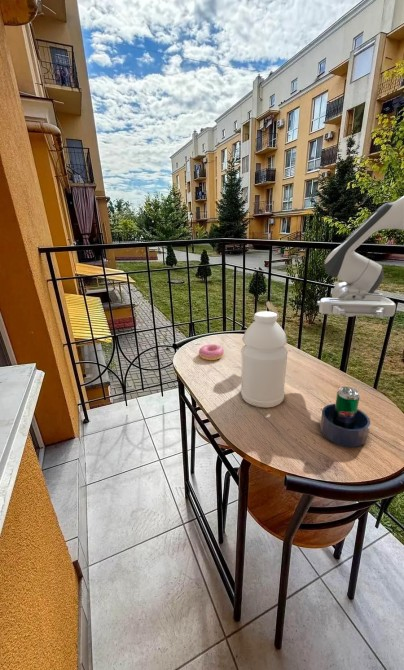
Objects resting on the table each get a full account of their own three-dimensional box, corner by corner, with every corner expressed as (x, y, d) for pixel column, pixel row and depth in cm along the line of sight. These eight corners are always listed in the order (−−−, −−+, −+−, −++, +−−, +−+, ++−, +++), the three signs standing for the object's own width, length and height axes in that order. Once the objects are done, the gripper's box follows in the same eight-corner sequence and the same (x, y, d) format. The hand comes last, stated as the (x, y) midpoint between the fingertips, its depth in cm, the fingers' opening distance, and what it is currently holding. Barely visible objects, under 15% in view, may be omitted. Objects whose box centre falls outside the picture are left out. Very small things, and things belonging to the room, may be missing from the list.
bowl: (355, 418, 79) (358, 403, 77) (375, 447, 69) (379, 431, 67) (314, 418, 80) (316, 403, 78) (328, 446, 70) (330, 430, 68)
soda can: (333, 435, 73) (339, 395, 68) (330, 422, 77) (335, 384, 73) (355, 437, 71) (362, 397, 67) (350, 425, 76) (357, 386, 72)
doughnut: (220, 362, 116) (220, 353, 114) (195, 360, 119) (195, 351, 118) (226, 352, 125) (226, 343, 124) (203, 350, 129) (202, 341, 127)
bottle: (289, 391, 94) (295, 310, 84) (277, 413, 83) (283, 323, 73) (249, 381, 101) (251, 305, 91) (233, 401, 90) (233, 317, 80)
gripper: (317, 291, 92) (321, 301, 80) (388, 293, 86) (404, 304, 74) (315, 310, 94) (318, 322, 82) (384, 312, 89) (399, 326, 76)
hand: (360, 314), depth 78 cm, fingers open, 8 cm apart
